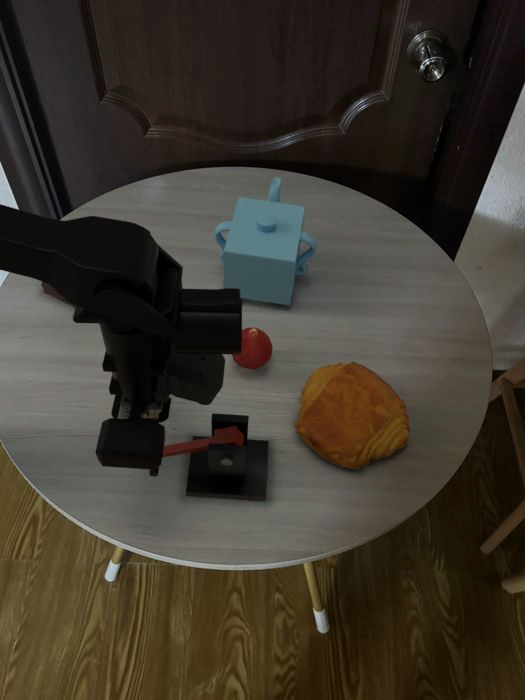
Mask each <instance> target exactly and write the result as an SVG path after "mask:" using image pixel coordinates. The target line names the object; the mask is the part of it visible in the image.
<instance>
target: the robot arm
mask: <svg viewBox="0 0 525 700" xmlns="http://www.w3.org/2000/svg"><path fill="white" fill-rule="evenodd" d="M0 271H3V272H6V273H11V274H15V275H19V276H23V277H26V278H30V279H33V280H37V281H39V282H45V283H47V284H49V285H50V286H51V287H52V288H54V289H55V290H56V291H57V292H58V293H59V294H60V295H61V296H62V297H64V298H65V299H66V300H67V301H68V302H69V303H71V304H73V305H76V306H75V307H74V311H73V316H72V321H73V322H74V323H75V324H96V325H97V324H98V325H99V327H100V332H101V336H102V340H103V345H104V347H105V352H104V356H103V361H102V365H101V366H102V367H101V368H102V370H103V372H104V373H105V372H106V373H111V376H110V382H109V386H108V392H109V395H111V396H114V399H113V403H112V407H111V412H110V414H111V417H109V418H107V419H106V420H103V421H102V422H101V426H100V430H99V433H98V439H97V442H96V447H95V451H94V453H95V456H96V459H97V461H98V462H99V464H100V465H101V466H102V468H103V467H105V468H121V469H134V470H135V469H136V470H149V471H150V470H155V469H156V468H158V467H159V468H160V467H161V466H162V461H163V458H162V457H163V450H164V446H165V443H166V427H165V426H164V425H163V424H161V423H164V422H166V421H167V420H168V419H169V417H170V410H171V405H172V400H173V399H172V397H170V396H173V397H175V398H178V399H182V400H186V401H190V402H194V403H198V404H199V405H202V406H209V405H211V404H212V403H213V401H214V400H215V398H216V397H217V396H218V394H219V393H220V391H221V390H222V389H223V386H224V376H225V369H226V368H225V367H226V358H225V356H224V355H232V354H236V355H241V351H242V330H243V298H240V291H241V290H240V289H238V288H224V287H223V288H214V289H213V288H208V289H207V288H183V273H184V272H183V271H184V267H183V265H182V264H180V262H178V261H177V260H176V259H175V258H174V257H172V256H171V255H170V253H168V252H167V251H166V250H165V249H164V248H162V246H160V245H159V244H158V243H157V241H156V240H155V239H154V237H153V236H152V234H151V231H150V230H148V229H147V228H146V227H144V226H142V225H140V224H138V223H135V222H132V221H127V220H120V219H114V218H109V217H103V216H99V215H98V216H97V215H88V216H81V217H78V218H73V219H72V218H71V219H68V220H67V219H66V220H62V219H55V218H50V217H46V216H43V215H39V214H35V213H32V212H29V211H25V210H22V209H19V208H15V207H11V206H7V205H4V204H1V203H0Z"/></svg>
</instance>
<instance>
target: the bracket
mask: <svg viewBox="0 0 525 700" xmlns="http://www.w3.org/2000/svg"><path fill="white" fill-rule="evenodd" d="M249 418H250V417H249V415H247V414H246V415H245V414H231V413H230V414H229V413H216V412H213V413H212V412H211V419H210V423H211V436H203V435H192V439H191V441H193V440H199V439H204V438H210V437H214V432H215V429H220V428H225V427H231V426H236V427H237V428H238V429H239V430H240V431H241V432H242V433H243V434H244V440H243V445H229V444H213V443H209V445H208V450H204V451H198V452H193V453H190V454H189V455H190V456H189V464H188V472H187V479H186V486H185V487H186V488H185V496H186V497H195V498H207V499H208V498H211V499H224V500H225V499H226V500H242V501H257V502H258V501H259V502H266V501H267V486H268V485H267V484H268V463H269V444H270V443H269V442H270V441H269V440H265V439H252V438H251V439H248V437H249V436H248V435H249V420H250V419H249Z"/></svg>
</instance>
